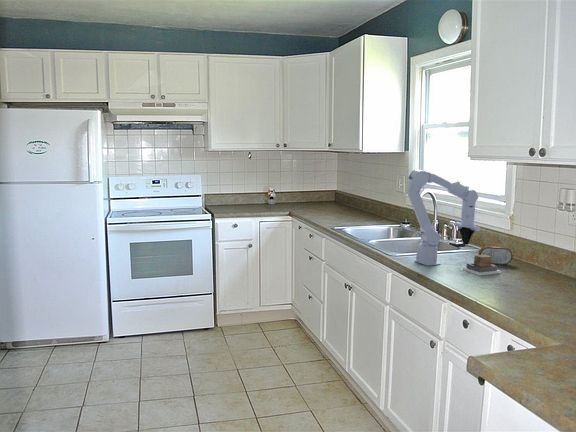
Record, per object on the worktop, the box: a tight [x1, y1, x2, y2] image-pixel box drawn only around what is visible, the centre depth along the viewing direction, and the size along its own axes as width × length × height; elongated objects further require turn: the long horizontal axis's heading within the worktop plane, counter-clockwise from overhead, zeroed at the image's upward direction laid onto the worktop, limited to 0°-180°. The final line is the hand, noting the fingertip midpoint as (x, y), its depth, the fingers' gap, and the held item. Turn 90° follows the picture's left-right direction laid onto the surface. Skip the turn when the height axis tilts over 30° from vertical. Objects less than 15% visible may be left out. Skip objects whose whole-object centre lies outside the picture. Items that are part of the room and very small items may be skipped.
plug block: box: [473, 254, 492, 267], centre depth 237 cm, size 4×6×6 cm, turn 115°
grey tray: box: [462, 262, 501, 276], centre depth 238 cm, size 10×12×3 cm
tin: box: [478, 245, 514, 266], centre depth 252 cm, size 15×3×8 cm, turn 80°
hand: (465, 244), depth 250 cm, fingers closed
